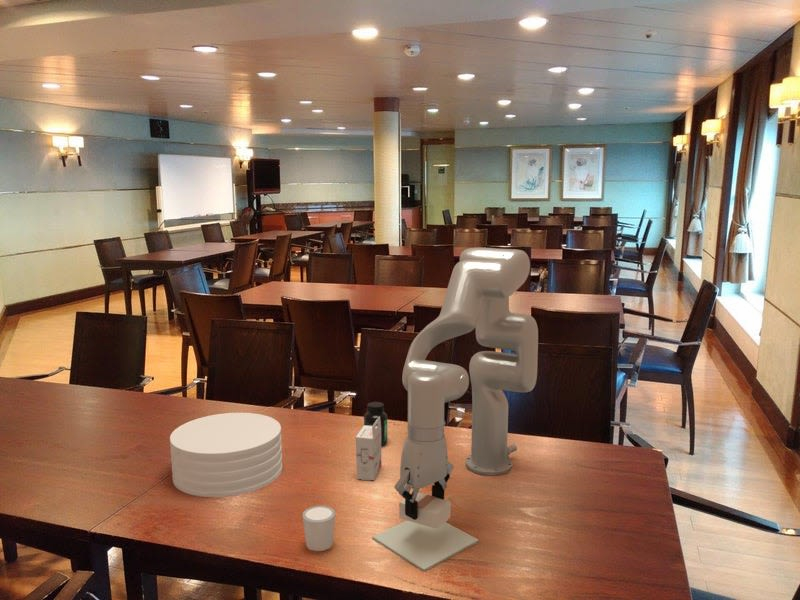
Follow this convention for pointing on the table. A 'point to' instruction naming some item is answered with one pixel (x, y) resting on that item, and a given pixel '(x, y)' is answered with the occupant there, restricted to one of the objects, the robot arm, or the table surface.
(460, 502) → the table surface
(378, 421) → the ink cartridge box
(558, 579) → the table surface
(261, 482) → the plate stack
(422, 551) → the mat
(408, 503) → the robot arm
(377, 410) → the supplement bottle
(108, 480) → the table surface
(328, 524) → the shot glass
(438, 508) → the card box
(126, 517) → the table surface
